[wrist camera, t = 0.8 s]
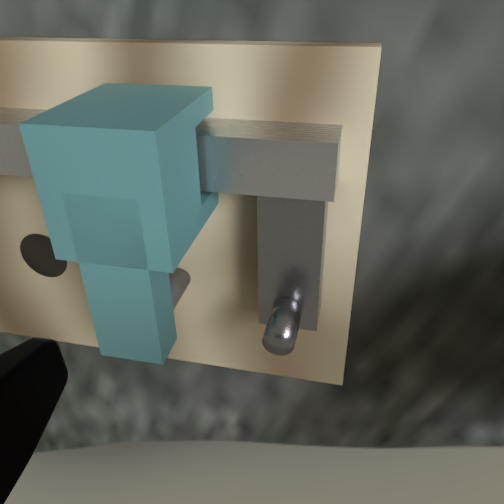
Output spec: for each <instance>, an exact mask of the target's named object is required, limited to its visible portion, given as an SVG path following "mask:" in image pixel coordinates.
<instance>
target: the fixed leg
mask: <svg viewBox="0 0 504 504" xmlns="http://www.w3.org/2000/svg"><path fill="white" fill-rule="evenodd" d="M327 212H328V202H327V201H315V200H303V199H291V198H279V197H266V196H257V243H258V323H259V324H266V329H265V332H264V335H263V338H262V344H263V346H264V348H265V349H266V350H267V351H268V352H270V353H271V354H274V355H278V356H284V355H288V354H290V353H291V352H292V351H293V350H294V347H295V342H296V338H297V333H298V329H303V330H310V331H317V325H318V319H319V313H320V307H321V294H322V280H323V267H324V253H325V239H326V226H327Z"/></svg>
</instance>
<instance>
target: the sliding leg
mask: <svg viewBox="0 0 504 504" xmlns="http://www.w3.org/2000/svg"><path fill="white" fill-rule="evenodd" d="M212 111H213V94H212V87H206V86H178V85H151V84H124V83H104V84H102V85H100V86H98V87H96V88H93V89H91V90H89V91H87V92H85V93H83V94H81V95H79V96H76V97H74V98H72V99H70V100H68V101H66V102H64V103H61V104H59V105H57V106H55V107H53V108H51V109H49V110H46V111H44V112H42V113H40V114H38V115H36V116H34V117H32V118H29V119H27V120H25V121H23V122H21V123H19V127H20V130H21V134H22V138H23V141H24V145H25V149H26V152H27V156H28V160H29V163H30V167H31V171H32V174H33V178H34V182H35V185H36V189H37V193H38V196H39V200H40V204H41V207H42V211H43V215H44V218H45V222H46V226H47V229H48V233H49V237H50V240H51V244H52V248H53V251H54V255H55V259H58V260H66V261H75V262H78V263H79V267H80V272H81V276H82V280H83V284H84V288H85V292H86V296H87V300H88V304H89V308H90V312H91V316H92V321H93V325H94V329H95V333H96V337H97V341H98V345H99V349H100V353H101V355H105V356H111V357H117V358H124V359H130V360H136V361H142V362H149V363H155V364H161V365H163V364H164V362H165V360H166V358H167V357H168V355H169V353H170V351H171V349H172V347H173V345H174V343H175V342H176V340H177V333H176V326H175V318H174V309H175V307H176V305H177V304H178V302H179V300H180V298H181V297H182V295H183V293H184V292H185V290H186V288H187V286H188V285H189V283H190V280H191V278H190V275H189V273H188V272H187V271H186V270H184V269H182V268H177V266H178V265H179V263H180V261H181V260H182V258H183V257H184V255H185V254H186V252H187V251H188V249H189V248H190V246H191V245H192V243H193V242H194V240H195V239H196V237H197V235H198V234H199V232H200V231H201V229H202V228H203V226H204V225H205V223H206V222H207V220H208V219H209V217H210V216H211V214H212V213H213V211H214V209H215V208H216V206H217V205H218V203H219V197H218V192H205V191H200V181H199V169H198V156H197V144H196V131H195V127H196V126H197V125H198V124H199V123H200V122H201V121H202V120H203V119H205V118H206V117H207V116H208V115H209V114H210V113H211V112H212Z"/></svg>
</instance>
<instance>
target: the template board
mask: <svg viewBox="0 0 504 504" xmlns="http://www.w3.org/2000/svg"><path fill="white" fill-rule="evenodd" d="M381 48H382V43H340V42H280V41H220V40H159V39H99V38H38V37H0V107H2V108H22V109H41V110H49V109H51V108H53V107H55V106H57V105H59V104H61V103H64V102H66V101H68V100H70V99H72V98H74V97H76V96H79V95H81V94H83V93H85V92H87V91H89V90H91V89H93V88H96V87H98V86H100V85H102V84H104V83H124V84H151V85H178V86H206V87H212V94H213V111H212V112H211V113H210V114H209V115H208V116H207V117H206V118H221V119H241V120H261V121H281V122H301V123H321V124H341V125H343V127H342V139H341V151H340V164H339V176H338V183H337V188H336V193H335V198H334V202H328V212H327V226H326V239H325V253H324V267H323V280H322V294H321V307H320V313H319V319H318V325H317V331H310V330H303V329H298V333H297V338H296V342H295V347H294V350H293V351H292V352H291V353H290V354H288V355H284V356H278V355H274V354H271V353H270V352H268V351H267V350H266V349H265V348H264V346H263V344H262V338H263V335H264V332H265V329H266V324H259V323H258V243H257V196H254V195H242V194H230V193H218V197H219V203H218V205H217V206H216V208H215V209H214V211H213V213H212V214H211V216H210V217H209V219H208V220H207V222H206V223H205V225H204V226H203V228H202V229H201V231H200V232H199V234H198V235H197V237H196V239H195V240H194V242H193V243H192V245H191V246H190V248H189V249H188V251H187V252H186V254H185V255H184V257H183V258H182V260H181V261H180V263H179V265H178V266H177V268H182V269H184V270H186V271H187V272H188V273H189V275H190V278H191V280H190V283H189V285H188V286H187V288H186V290H185V292H184V293H183V295H182V297H181V298H180V300H179V302H178V304H177V305H176V307H175V309H174V318H175V326H176V333H177V340H176V342H175V343H174V345H173V347H172V349H171V351H170V353H169V355H168V357H167V358H170V359H176V360H183V361H189V362H196V363H202V364H208V365H215V366H221V367H228V368H234V369H240V370H247V371H253V372H260V373H266V374H272V375H279V376H285V377H291V378H298V379H304V380H311V381H317V382H323V383H330V384H336V385H343V376H344V368H345V359H346V350H347V342H348V333H349V324H350V316H351V307H352V298H353V290H354V281H355V273H356V264H357V255H358V247H359V238H360V229H361V221H362V212H363V203H364V195H365V186H366V178H367V169H368V160H369V152H370V143H371V134H372V126H373V117H374V108H375V100H376V91H377V83H378V74H379V65H380V57H381ZM0 332H4V333H10V334H17V335H23V336H30V337H39V338H47V339H53V340H55V341H62V342H68V343H74V344H81V345H87V346H93V347H99V345H98V341H97V337H96V333H95V329H94V325H93V321H92V316H91V312H90V308H89V304H88V300H87V296H86V292H85V288H84V284H83V280H82V276H81V272H80V267H79V263H78V262H75V261H66V260H58V259H55V255H54V251H53V248H52V244H51V240H50V237H49V233H48V229H47V226H46V222H45V218H44V215H43V211H42V207H41V204H40V200H39V196H38V193H37V189H36V185H35V182H34V178H33V177H22V176H10V175H0Z"/></svg>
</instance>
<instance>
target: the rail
mask: <svg viewBox="0 0 504 504" xmlns="http://www.w3.org/2000/svg"><path fill="white" fill-rule="evenodd" d="M44 111H46V110H41V109H22V108H2V107H0V175H10V176H22V177H33V174H32V171H31V167H30V163H29V160H28V156H27V152H26V149H25V145H24V141H23V138H22V134H21V130H20V127H19V123H21V122H23V121H25V120H27V119H29V118H32V117H34V116H36V115H38V114H40V113H42V112H44ZM342 127H343V125H341V124H321V123H301V122H281V121H261V120H241V119H221V118H205V119H203V120H202V121H201V122H200V123H199V124H198V125H197V126H196V127H195V131H196V144H197V156H198V169H199V181H200V191H205V192H218V193H230V194H242V195H254V196H266V197H279V198H291V199H303V200H315V201H327V202H334V198H335V193H336V188H337V183H338V176H339V164H340V151H341V139H342Z"/></svg>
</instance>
